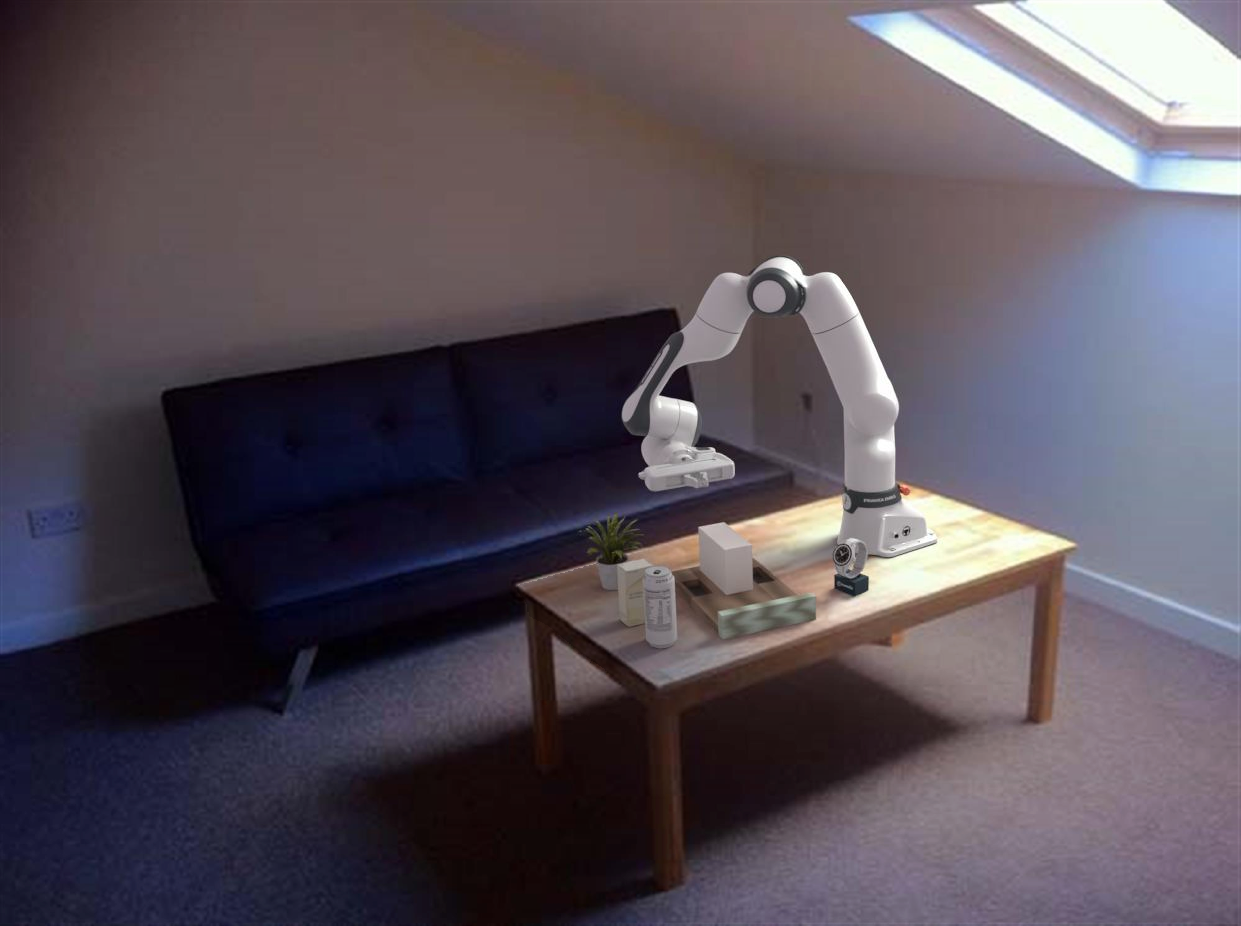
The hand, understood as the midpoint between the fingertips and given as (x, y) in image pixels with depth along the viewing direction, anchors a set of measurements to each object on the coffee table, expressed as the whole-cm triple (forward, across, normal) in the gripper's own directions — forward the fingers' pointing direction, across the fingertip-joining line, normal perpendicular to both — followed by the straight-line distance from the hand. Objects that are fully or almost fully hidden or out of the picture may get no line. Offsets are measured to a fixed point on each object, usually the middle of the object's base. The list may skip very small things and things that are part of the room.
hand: (702, 484), depth 239 cm
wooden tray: (+17, 0, +20) cm, 26 cm away
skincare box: (+17, -22, +20) cm, 34 cm away
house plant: (0, -22, +20) cm, 30 cm away
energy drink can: (+28, -21, +20) cm, 40 cm away
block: (+11, 0, +18) cm, 21 cm away
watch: (+23, +23, +20) cm, 38 cm away
